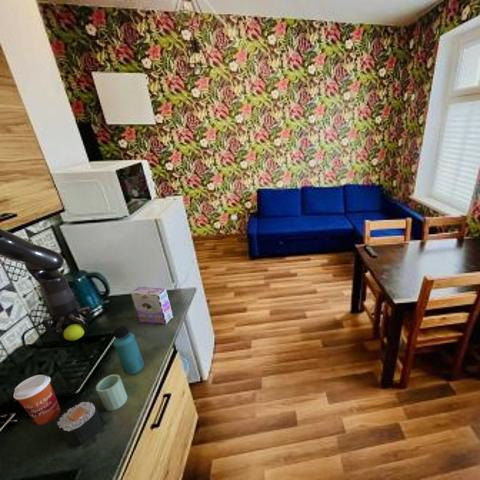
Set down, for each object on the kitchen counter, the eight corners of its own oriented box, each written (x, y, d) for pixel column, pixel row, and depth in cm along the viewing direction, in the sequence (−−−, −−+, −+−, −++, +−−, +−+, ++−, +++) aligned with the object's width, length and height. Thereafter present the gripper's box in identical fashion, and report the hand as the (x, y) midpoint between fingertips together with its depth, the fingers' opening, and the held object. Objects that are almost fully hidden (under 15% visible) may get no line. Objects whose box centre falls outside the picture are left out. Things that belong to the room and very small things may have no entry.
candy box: (174, 317, 128) (166, 288, 121) (166, 325, 122) (158, 295, 116) (147, 314, 129) (139, 285, 123) (138, 322, 124) (129, 292, 117)
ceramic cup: (101, 413, 85) (92, 393, 81) (109, 395, 90) (101, 376, 87) (123, 408, 86) (115, 388, 83) (130, 391, 92) (123, 372, 88)
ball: (62, 345, 104) (56, 332, 102) (71, 334, 110) (66, 322, 107) (82, 342, 106) (77, 329, 103) (89, 331, 111) (85, 319, 109)
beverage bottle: (149, 365, 102) (136, 323, 94) (135, 380, 96) (120, 337, 88) (134, 362, 103) (120, 321, 95) (120, 377, 97) (103, 334, 89)
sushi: (91, 413, 85) (83, 396, 81) (108, 424, 82) (100, 406, 78) (60, 438, 78) (50, 420, 75) (78, 451, 75) (68, 433, 72)
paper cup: (32, 434, 79) (11, 401, 73) (30, 416, 83) (11, 384, 78) (67, 414, 84) (50, 383, 79) (63, 399, 89) (47, 368, 83)
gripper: (85, 289, 107) (97, 322, 114) (35, 301, 99) (51, 336, 106) (84, 298, 102) (97, 332, 108) (31, 311, 94) (49, 347, 100)
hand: (74, 334), depth 107 cm, fingers closed on ball, 6 cm apart
